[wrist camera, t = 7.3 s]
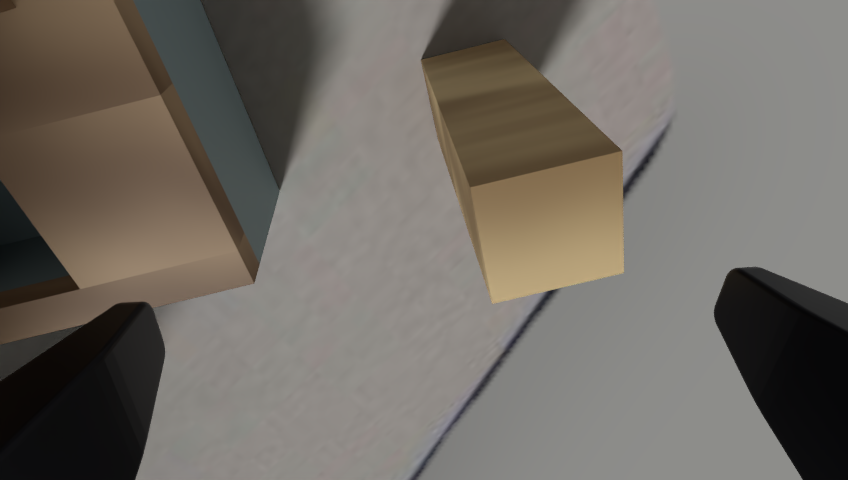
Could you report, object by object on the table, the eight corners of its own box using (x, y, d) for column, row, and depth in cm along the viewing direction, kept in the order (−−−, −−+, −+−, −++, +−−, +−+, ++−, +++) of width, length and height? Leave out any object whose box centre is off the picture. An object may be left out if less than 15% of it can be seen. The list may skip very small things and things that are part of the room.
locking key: (514, 119, 20) (624, 273, 12) (437, 138, 20) (492, 303, 12) (504, 38, 19) (622, 151, 10) (420, 59, 19) (470, 187, 10)
